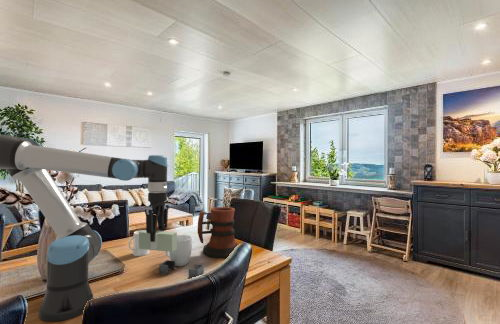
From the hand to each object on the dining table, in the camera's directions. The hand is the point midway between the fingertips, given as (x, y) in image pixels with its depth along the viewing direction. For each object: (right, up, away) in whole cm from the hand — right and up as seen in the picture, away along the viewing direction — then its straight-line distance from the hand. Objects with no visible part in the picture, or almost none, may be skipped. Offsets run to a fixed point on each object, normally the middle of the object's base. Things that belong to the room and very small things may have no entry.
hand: (157, 247), depth 109 cm
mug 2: (+3, -15, +21) cm, 26 cm away
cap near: (+15, -15, +7) cm, 22 cm away
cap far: (+1, -15, +11) cm, 19 cm away
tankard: (+22, -16, +39) cm, 47 cm away
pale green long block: (0, -1, 0) cm, 1 cm away
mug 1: (-22, -15, +33) cm, 43 cm away
